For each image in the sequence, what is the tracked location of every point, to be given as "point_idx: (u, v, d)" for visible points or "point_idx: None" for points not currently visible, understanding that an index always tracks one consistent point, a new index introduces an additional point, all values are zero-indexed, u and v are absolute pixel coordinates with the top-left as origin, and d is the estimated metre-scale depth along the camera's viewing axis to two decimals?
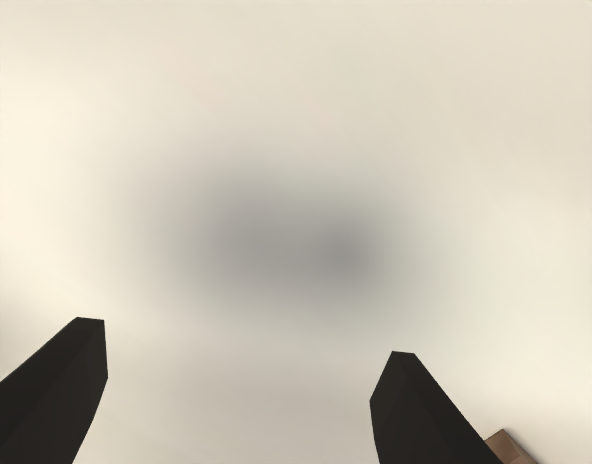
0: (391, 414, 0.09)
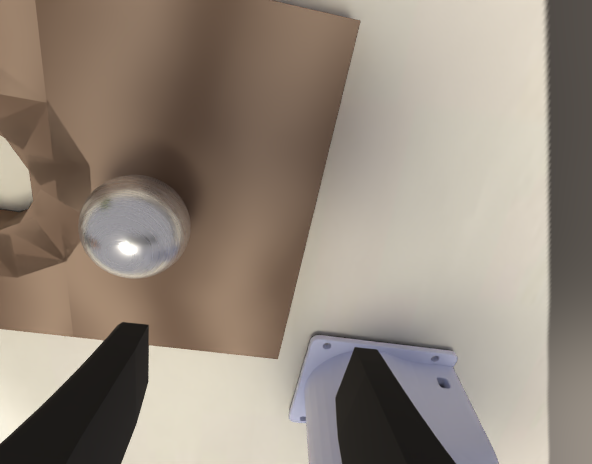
0: (352, 411, 0.09)
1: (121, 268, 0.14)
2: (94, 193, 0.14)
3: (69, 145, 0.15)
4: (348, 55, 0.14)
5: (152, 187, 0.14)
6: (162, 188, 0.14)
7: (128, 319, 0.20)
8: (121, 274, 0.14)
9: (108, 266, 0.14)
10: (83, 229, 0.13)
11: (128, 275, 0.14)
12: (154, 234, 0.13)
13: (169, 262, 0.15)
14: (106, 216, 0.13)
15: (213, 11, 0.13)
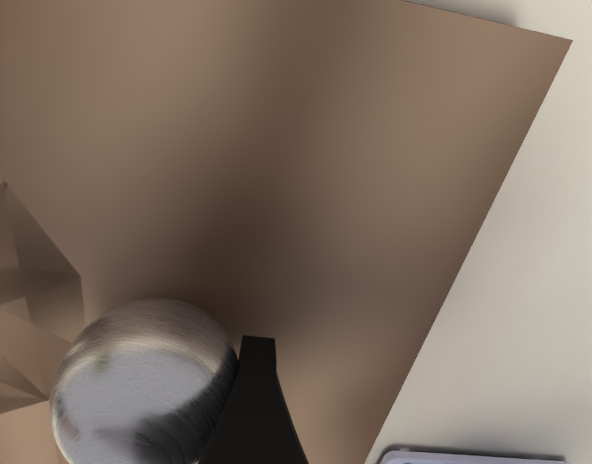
0: None
1: None
2: (78, 347, 0.08)
3: (46, 248, 0.09)
4: (536, 100, 0.08)
5: (179, 339, 0.08)
6: (196, 336, 0.08)
7: None
8: None
9: None
10: (52, 417, 0.07)
11: None
12: (177, 438, 0.07)
13: None
14: (90, 408, 0.07)
15: (306, 25, 0.07)
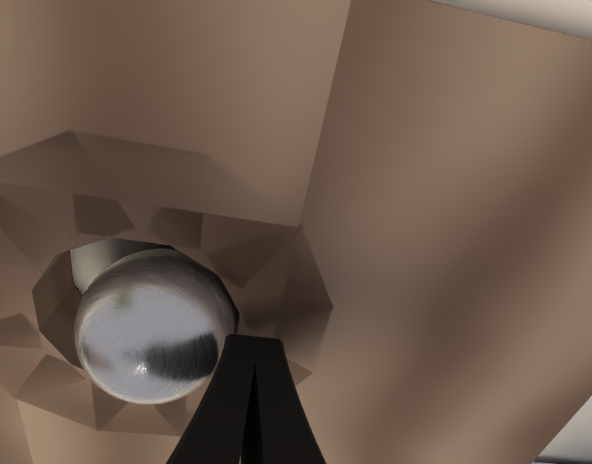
0: None
1: None
2: None
3: (312, 282, 0.10)
4: None
5: None
6: (183, 257, 0.10)
7: None
8: None
9: None
10: None
11: None
12: None
13: None
14: None
15: None
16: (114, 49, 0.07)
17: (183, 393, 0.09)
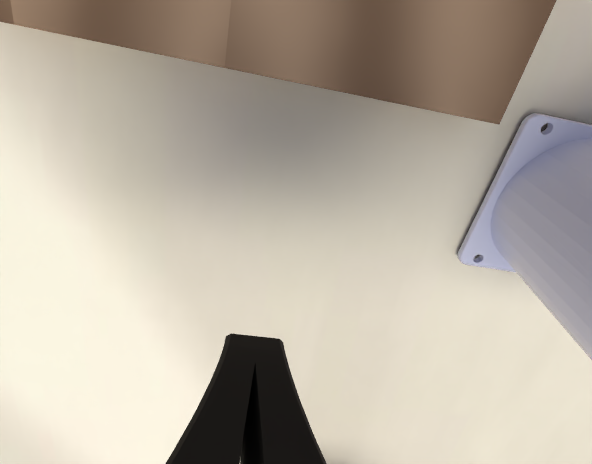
0: None
1: None
2: None
3: None
4: None
5: None
6: None
7: (309, 34, 0.14)
8: None
9: None
10: None
11: None
12: None
13: None
14: None
15: None
16: None
17: None
